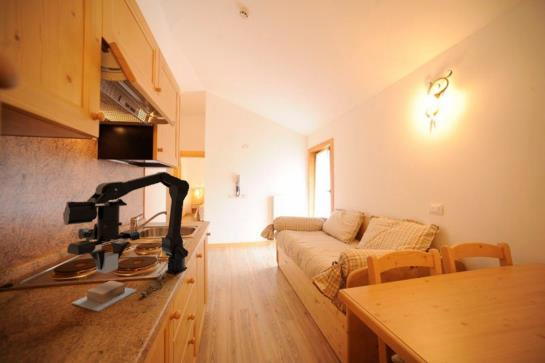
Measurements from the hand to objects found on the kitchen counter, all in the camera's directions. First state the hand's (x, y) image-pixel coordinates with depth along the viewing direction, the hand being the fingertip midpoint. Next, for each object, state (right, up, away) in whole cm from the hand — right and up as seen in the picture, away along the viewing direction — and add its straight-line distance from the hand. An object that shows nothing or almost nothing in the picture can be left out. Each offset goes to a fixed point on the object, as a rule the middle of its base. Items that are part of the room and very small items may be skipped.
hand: (107, 266), depth 66 cm
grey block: (0, -1, 0) cm, 1 cm away
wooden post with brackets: (+13, -11, +4) cm, 17 cm away
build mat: (0, -10, 0) cm, 10 cm away
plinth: (0, -10, 0) cm, 10 cm away
